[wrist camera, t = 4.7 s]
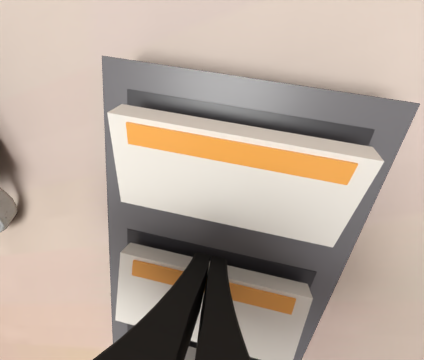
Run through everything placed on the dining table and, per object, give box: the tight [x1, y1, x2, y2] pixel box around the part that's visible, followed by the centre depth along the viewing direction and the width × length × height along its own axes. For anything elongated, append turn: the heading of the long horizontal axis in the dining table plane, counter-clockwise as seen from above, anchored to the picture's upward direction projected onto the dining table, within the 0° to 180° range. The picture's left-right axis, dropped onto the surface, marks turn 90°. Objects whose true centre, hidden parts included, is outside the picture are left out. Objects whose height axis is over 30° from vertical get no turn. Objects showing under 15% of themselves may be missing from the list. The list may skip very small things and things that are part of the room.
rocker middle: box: [115, 242, 313, 360], centre depth 12 cm, size 4×9×1 cm, turn 82°
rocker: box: [107, 104, 384, 247], centre depth 9 cm, size 4×9×1 cm, turn 81°
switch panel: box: [102, 56, 420, 360], centre depth 15 cm, size 21×12×3 cm, turn 172°
